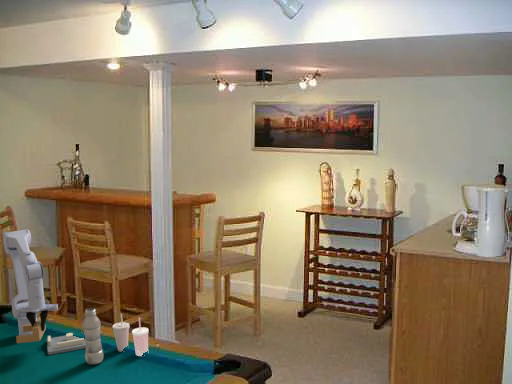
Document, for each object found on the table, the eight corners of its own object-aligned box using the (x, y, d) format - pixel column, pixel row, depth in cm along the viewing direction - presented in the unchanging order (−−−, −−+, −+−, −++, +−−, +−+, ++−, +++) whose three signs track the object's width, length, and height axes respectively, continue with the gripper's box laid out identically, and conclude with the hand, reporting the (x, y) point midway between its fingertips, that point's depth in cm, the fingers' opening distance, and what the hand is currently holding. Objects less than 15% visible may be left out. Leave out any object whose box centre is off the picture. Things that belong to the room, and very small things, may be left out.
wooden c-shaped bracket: (16, 343, 208) (15, 330, 207) (24, 331, 220) (22, 318, 219) (39, 340, 209) (38, 327, 209) (45, 328, 221) (44, 316, 220)
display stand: (46, 341, 228) (46, 333, 227) (91, 333, 234) (90, 325, 234) (48, 355, 215) (47, 346, 214) (94, 346, 221) (94, 338, 221)
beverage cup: (138, 358, 209) (136, 321, 207) (130, 353, 213) (127, 317, 211) (153, 353, 213) (150, 317, 210) (145, 348, 217) (142, 313, 215)
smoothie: (127, 353, 213) (124, 317, 211) (111, 352, 215) (108, 317, 213) (134, 346, 220) (131, 311, 218) (118, 345, 221) (115, 310, 219)
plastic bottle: (87, 368, 202) (82, 314, 199) (84, 361, 208) (79, 308, 205) (106, 364, 205) (101, 310, 202) (101, 357, 211) (97, 305, 208)
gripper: (12, 301, 208) (16, 336, 210) (54, 297, 210) (57, 332, 212) (17, 294, 215) (21, 329, 217) (57, 291, 217) (60, 325, 219)
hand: (39, 330), depth 215 cm, fingers closed on wooden c-shaped bracket, 2 cm apart
